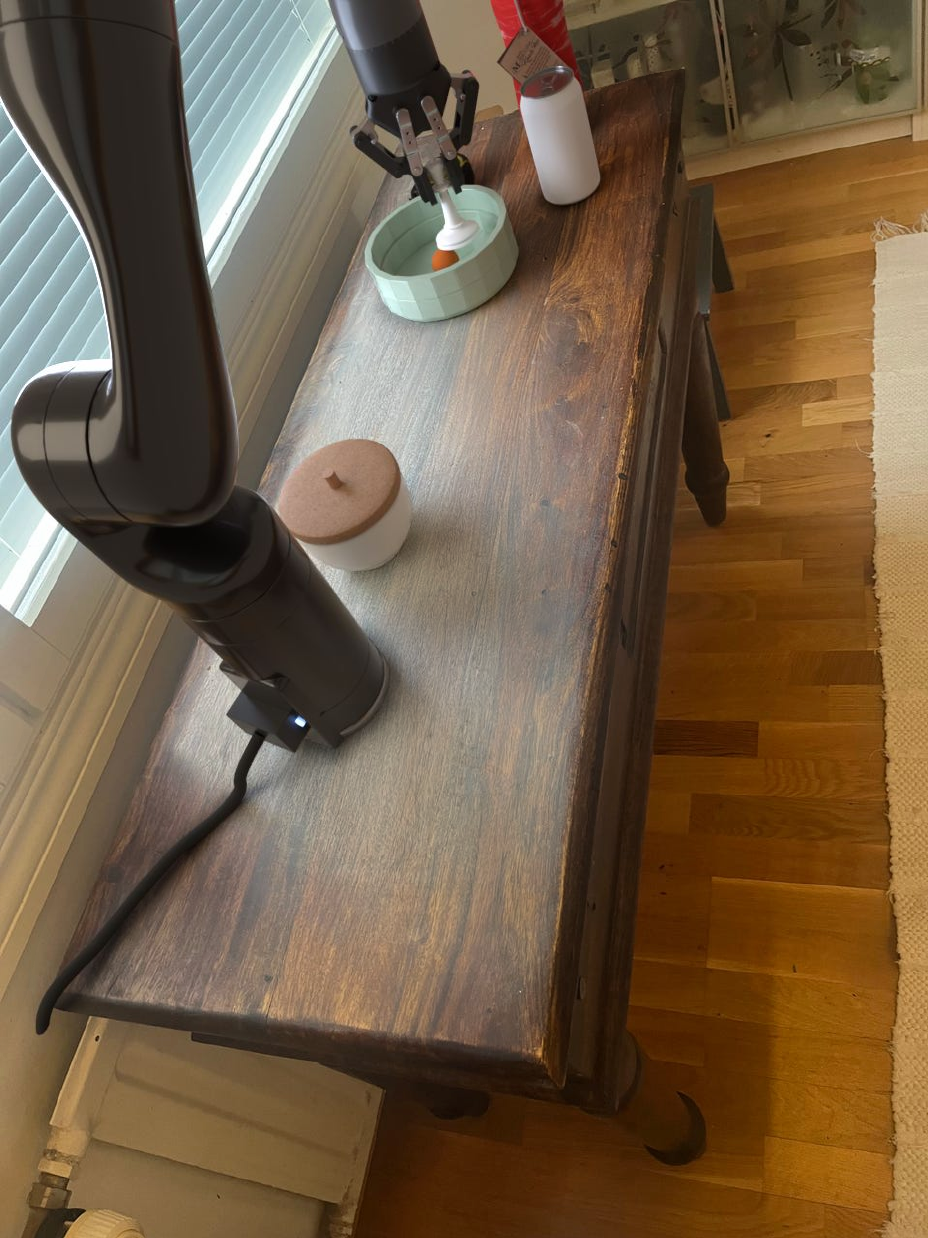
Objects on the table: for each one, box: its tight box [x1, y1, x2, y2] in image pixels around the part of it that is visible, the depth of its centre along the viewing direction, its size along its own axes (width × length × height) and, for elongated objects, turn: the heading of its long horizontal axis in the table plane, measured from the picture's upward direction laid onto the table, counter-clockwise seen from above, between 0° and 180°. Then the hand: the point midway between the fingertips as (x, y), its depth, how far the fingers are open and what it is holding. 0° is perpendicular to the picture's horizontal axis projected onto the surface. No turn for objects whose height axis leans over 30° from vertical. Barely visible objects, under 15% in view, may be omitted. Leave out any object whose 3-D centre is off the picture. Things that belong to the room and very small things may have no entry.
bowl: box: [364, 184, 520, 323], centre depth 99 cm, size 16×16×6 cm
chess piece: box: [420, 141, 481, 251], centre depth 95 cm, size 5×5×10 cm
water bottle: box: [489, 0, 588, 129], centre depth 100 cm, size 12×8×25 cm, turn 166°
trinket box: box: [278, 438, 413, 572], centre depth 79 cm, size 11×11×9 cm
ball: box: [432, 249, 460, 272], centre depth 99 cm, size 3×3×3 cm
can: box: [520, 66, 601, 207], centre depth 98 cm, size 6×6×12 cm
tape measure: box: [408, 152, 476, 202], centre depth 109 cm, size 7×7×4 cm
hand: (445, 194), depth 95 cm, fingers closed on chess piece
